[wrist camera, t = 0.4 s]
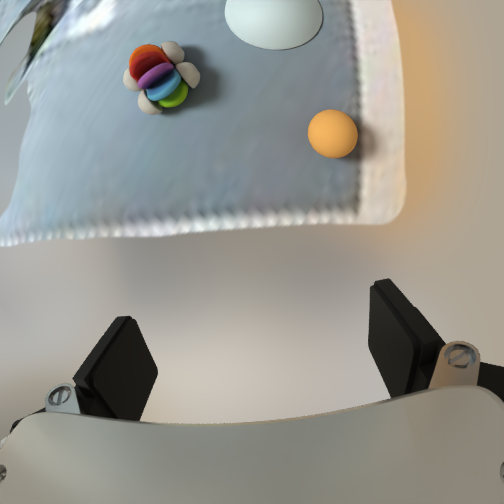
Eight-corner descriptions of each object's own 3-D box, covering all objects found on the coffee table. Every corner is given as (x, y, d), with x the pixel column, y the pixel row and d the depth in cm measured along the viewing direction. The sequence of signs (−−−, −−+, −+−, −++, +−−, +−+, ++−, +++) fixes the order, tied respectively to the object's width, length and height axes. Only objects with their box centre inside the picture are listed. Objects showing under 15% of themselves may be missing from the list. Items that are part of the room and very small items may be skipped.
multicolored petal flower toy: (174, 38, 29) (158, 19, 22) (210, 88, 32) (199, 76, 25) (125, 74, 31) (100, 64, 24) (157, 125, 34) (135, 122, 27)
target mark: (217, -14, 26) (217, -15, 25) (308, -25, 24) (308, -25, 24) (235, 57, 30) (234, 57, 30) (332, 45, 29) (332, 45, 29)
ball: (300, 115, 33) (308, 109, 27) (344, 110, 32) (359, 104, 27) (308, 159, 35) (318, 163, 29) (352, 154, 35) (368, 156, 29)
